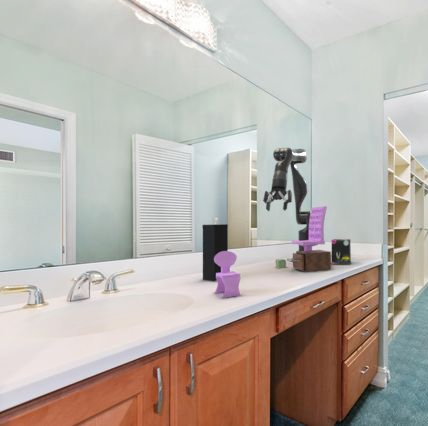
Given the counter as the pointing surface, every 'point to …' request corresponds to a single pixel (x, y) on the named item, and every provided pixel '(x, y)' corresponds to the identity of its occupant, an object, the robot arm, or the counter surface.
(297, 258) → the drawer
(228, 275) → the toy chair
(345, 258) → the tampon box
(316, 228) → the purple chair
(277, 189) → the robot arm
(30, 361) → the counter surface
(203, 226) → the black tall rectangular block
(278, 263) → the block
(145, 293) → the counter surface
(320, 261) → the cabinet
